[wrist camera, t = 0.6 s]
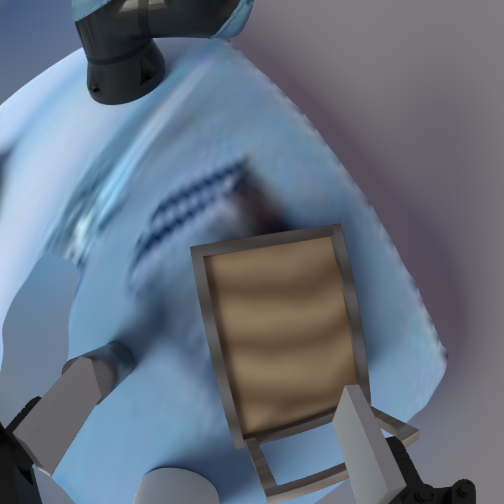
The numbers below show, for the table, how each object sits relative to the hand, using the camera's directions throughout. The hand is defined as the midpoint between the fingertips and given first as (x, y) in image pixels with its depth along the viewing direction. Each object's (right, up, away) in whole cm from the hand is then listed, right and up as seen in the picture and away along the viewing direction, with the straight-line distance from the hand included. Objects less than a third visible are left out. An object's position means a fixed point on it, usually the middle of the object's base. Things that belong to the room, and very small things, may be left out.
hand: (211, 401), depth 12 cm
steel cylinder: (-16, -7, +20) cm, 26 cm away
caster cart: (+5, -4, +24) cm, 25 cm away
